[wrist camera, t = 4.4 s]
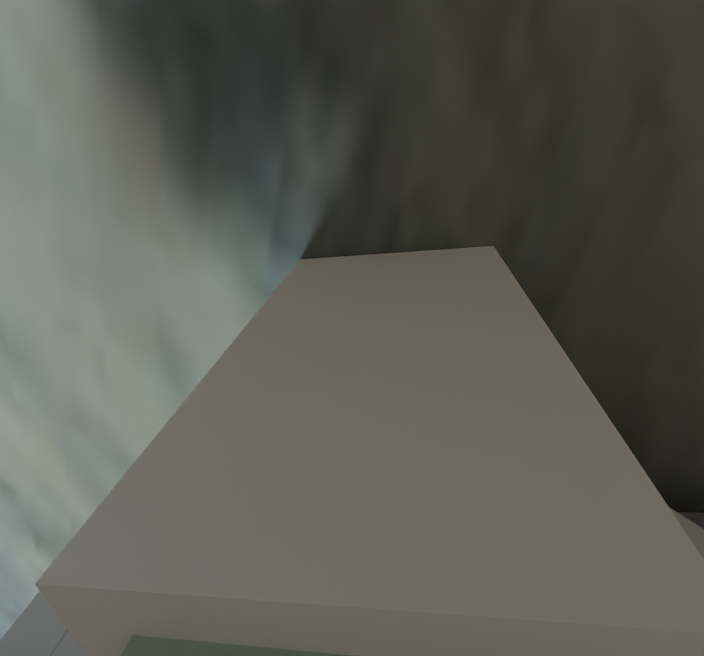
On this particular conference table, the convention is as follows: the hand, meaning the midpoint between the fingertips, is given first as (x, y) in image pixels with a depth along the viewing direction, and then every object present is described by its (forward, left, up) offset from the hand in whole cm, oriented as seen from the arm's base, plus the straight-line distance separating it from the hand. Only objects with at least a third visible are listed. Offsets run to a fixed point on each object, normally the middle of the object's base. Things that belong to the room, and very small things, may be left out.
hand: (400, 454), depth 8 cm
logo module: (0, 0, -2) cm, 2 cm away
